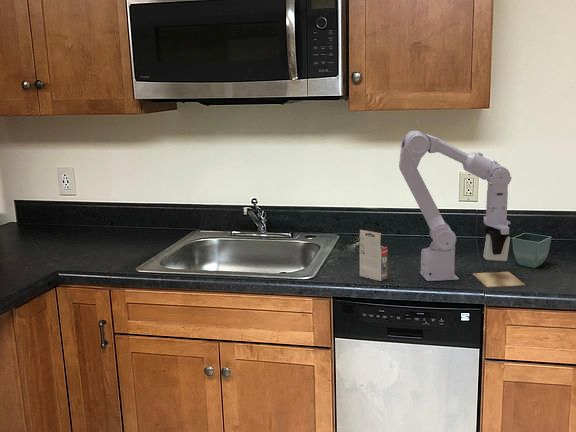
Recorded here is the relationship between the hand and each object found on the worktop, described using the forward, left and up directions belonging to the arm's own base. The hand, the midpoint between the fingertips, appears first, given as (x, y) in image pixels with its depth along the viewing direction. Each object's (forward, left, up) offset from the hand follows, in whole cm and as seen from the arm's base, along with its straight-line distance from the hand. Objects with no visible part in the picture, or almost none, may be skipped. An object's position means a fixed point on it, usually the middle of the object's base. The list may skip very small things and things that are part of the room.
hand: (494, 252), depth 192 cm
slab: (0, 0, -2) cm, 2 cm away
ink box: (-35, +4, -8) cm, 36 cm away
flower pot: (+15, +9, -8) cm, 19 cm away
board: (0, -3, -7) cm, 8 cm away
